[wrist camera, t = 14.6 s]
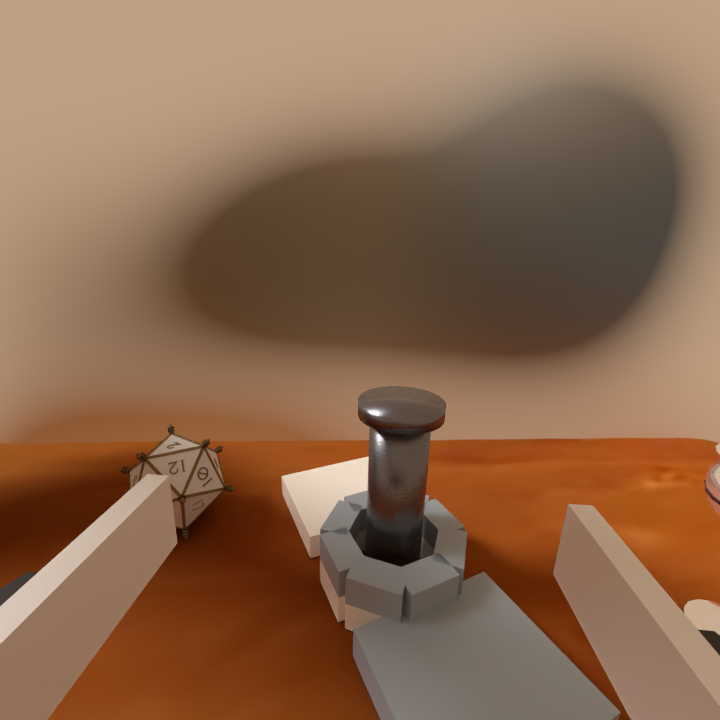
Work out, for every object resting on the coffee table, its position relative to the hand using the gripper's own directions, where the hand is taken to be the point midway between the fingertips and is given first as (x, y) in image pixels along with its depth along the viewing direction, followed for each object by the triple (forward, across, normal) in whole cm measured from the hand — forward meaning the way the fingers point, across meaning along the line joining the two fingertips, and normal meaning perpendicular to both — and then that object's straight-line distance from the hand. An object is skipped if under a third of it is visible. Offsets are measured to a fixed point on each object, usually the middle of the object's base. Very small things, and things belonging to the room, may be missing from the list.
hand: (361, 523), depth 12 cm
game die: (+16, -17, -15) cm, 27 cm away
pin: (+12, +2, -14) cm, 19 cm away
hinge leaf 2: (+8, +4, -14) cm, 17 cm away
